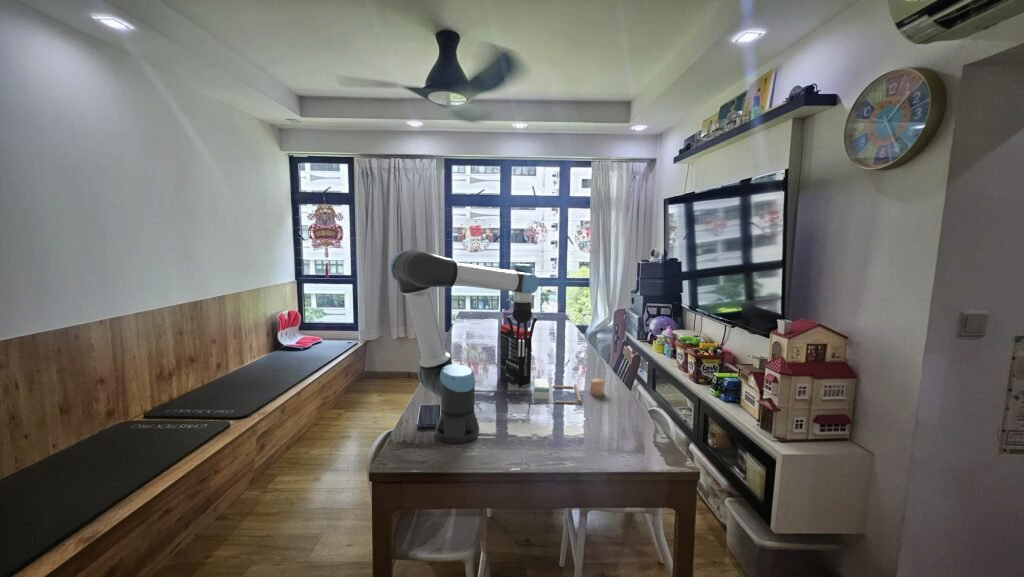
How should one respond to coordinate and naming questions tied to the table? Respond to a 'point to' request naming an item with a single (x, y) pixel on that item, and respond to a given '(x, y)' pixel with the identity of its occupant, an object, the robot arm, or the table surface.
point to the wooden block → (597, 387)
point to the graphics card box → (515, 358)
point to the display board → (552, 396)
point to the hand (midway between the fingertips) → (521, 355)
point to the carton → (541, 389)
